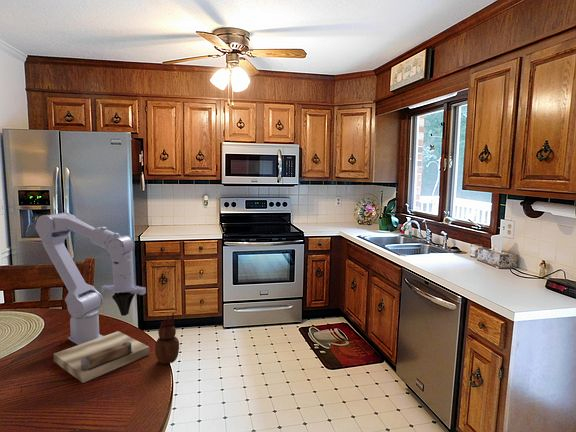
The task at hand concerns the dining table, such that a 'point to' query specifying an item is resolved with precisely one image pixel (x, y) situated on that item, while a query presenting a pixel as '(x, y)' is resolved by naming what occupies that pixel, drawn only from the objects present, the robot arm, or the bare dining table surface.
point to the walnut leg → (105, 355)
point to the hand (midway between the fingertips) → (124, 314)
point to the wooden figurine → (167, 342)
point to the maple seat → (73, 355)
